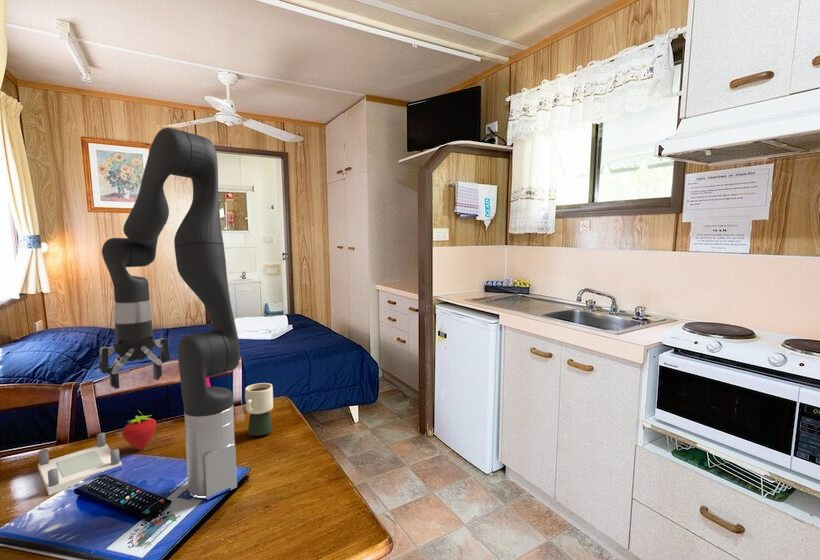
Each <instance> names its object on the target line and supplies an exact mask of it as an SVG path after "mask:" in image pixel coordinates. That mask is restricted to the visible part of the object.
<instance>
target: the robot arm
mask: <svg viewBox="0 0 820 560" xmlns="http://www.w3.org/2000/svg"><path fill="white" fill-rule="evenodd" d="M151 142H152V143H151V146H150V149H149V151H148V156H147V159H146V163H145V168H144V169H143V170H144V171H143V175H142V179H141V182H140V186H139V191H138V193H137V197H136V200H135V203H134V204H133V206H132V208H131V210H130V212H129V215H128V216H127V219H126V220H125V222H124V225H123V228H122V229H123V233H124V236H125V237H112V238H111V237H110V238H109V239H107V240H106V241H105V242H103V245H102V248H101V255H102V259H103V262H104V264H105V266H106V268H107V270H108V273H109V275H110V279H111V282H112V286H113V295H114V309H113V310H114V311H113V321H114V332H115V334H114V335H115V344H114V346H109V347H108V346H100V348H99V352H98V353H99V355H98V357H99V360H98V361H99V362H98V366H99V368H98V370H99V371H100V372H101V373H102V374H109V385H110V386H111V387H112V388H113V389H115V390H117V389H120V377H119V373H118V372H119V371H120V369H121V368H122V367H124V365H125V364H126V363H127V362H134V361H136V360H139V361H140V360H145V358H148V359H149V360H150V361H151V362H153V363H154V364H152V370H153V371H152V372H153V379H154V380H155V381H158V380H160V378H161V377H162V375H163V371H162V369H163V368H162V365H163V363H166V362H169V361H170V359H171V358H170V357H171V356H170V350H169V341H168V339H167V338H164V337H160V338H158V339H154V333H153V319H152V318H153V317H152V307H151V302H150V299H151V298H150V286H149V285H150V284H149V280H148V279H147V278H145V277H143V276H138V275H131V274H130V273H129V271H128V270H127V268H136V267H137V268H139V267H140V268H141V267H147V266H149V265H151V264H152V263H153V262H154V261H155V260H156V256H157V246H158V242H159V241H158V239H159V236H160V234H161V233H162V231H163V230H164V227H165V226H166V225H167V222H168V219H169V215H170V210H169V209H170V208H169V204H168V200H167V198H166V193H165V190H164V185H165V182H166V180H167V179H168V178H169V176H175V177H183V178H188V179H191V182H192V202H191V204H190V207H189V209H188V211H187V213H185V214H186V215H185V216H184V218H183V219H182V221H181V223H180V225H179V226H178V228H177V230H176V232H175V235H174V239H173V242H174V245H173V246H174V254H175V255H174V256H175V261H176V269H177V272H178V273H179V276H180V278H181V279H182V280H183V281H184V283H185V284H186V285H187V286H188V288H189V289H190V290H191V291H192V292H193V293H194V294H195V295H196V297H198V299H199V300H200V302H202V304H203V305H204V307H205V309H206V311H207V313H208V315H209V318H210V322H211V327H212V330H209V331H204V332H198V333H192V334H187V335H184V336H182V338H180V340H179V342H178V347H177V361H178V369H179V376H180V389H181V397H182V401H183V402H182V403H183V411H184V412H183V414H184V431H185V432H184V433H185V434H184V436H185V452H186V453H185V454H186V475H187V492H188V491H189V492H190V493H191V494H193V495H197V496H206V497H207V498H208V497H209V496H212V495H214V494H216V493H218V492H220V491H223V490H225V489H228V488H231V489H230V491H232V490H234V489H236V488H238V480H237V478H238V477H237V476H238V475H237V455H236V451H237V450H236V439H235V438H236V437H235V411H234V410H235V409H234V393H233V391H232V390H230V389H228V388H226V387H220V386H211V387H210V386H207V384H206V379H205V377H209V378H210V377H213V376H216V375H221V374H225V373H228V372H232V371H234V370H236V368H238V366H239V363H240V358H241V348H240V341H239V336H238V330H237V327H236V326H237V325H236V323H235V317H234V312H233V308H232V302H231V297H230V290H229V283H228V282H229V281H228V273H227V272H228V271H227V260H226V259H227V258H226V253H225V252H226V251H225V243H224V238H223V232H222V223H221V214H220V203H219V201H220V200H219V164H218V155H217V151H216V147H215V145H214V143H213V142H212V141H211V140H210V139H209V138H207V137H206V136H201V135H199V134H195V133H193V132H188V131H184V130H180V129H176V128H172V127H164V128H161V129H160V130H159V131H158V132H157V133H156V134H155V136H154V138H153V140H152V141H151ZM155 346H157V347H158V348H159V351H160V357H157V355H155V354H154V353H153V352H152V350H153V349H154V348H155ZM113 352H115V353H116V355H117V354H118V355H117V357H116V358H115V359H114V362H113V363H112V364H111V366H109V357H111V356H112V353H113Z"/></svg>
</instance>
